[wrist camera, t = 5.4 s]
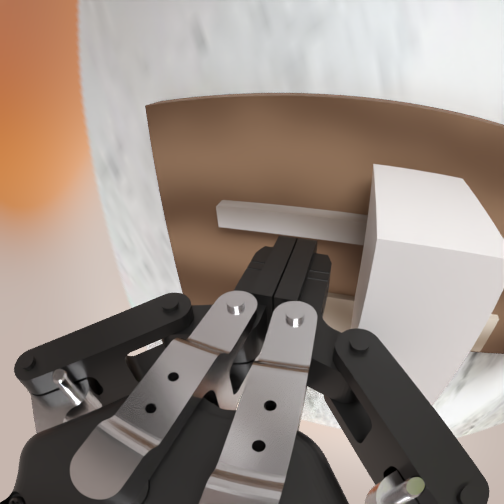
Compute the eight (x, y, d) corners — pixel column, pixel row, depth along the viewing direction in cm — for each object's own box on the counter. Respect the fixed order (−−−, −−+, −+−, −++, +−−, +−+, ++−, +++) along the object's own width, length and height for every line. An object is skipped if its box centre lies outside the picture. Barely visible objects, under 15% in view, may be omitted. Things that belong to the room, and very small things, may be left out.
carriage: (373, 161, 12) (376, 238, 7) (460, 176, 11) (515, 260, 6) (345, 340, 18) (326, 432, 13) (406, 349, 17) (401, 442, 12)
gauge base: (160, 101, 16) (58, 137, 10) (625, 178, 7) (688, 241, 1) (195, 292, 23) (143, 366, 18) (554, 341, 14) (574, 419, 8)
